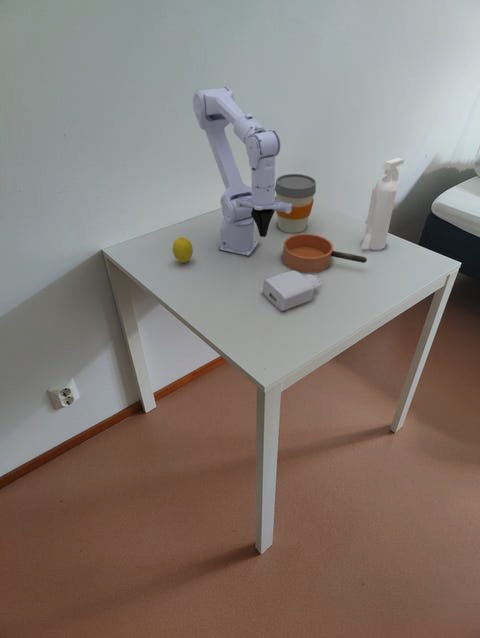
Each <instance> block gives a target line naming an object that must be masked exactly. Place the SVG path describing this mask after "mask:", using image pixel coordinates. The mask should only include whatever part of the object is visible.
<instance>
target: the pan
mask: <svg viewBox="0 0 480 638" xmlns="http://www.w3.org/2000/svg"><path fill="white" fill-rule="evenodd" d="M329 251H330V252H329ZM332 251H334V245H333V243H332V242H331V241H330V240H329V239H327V238H326V237H324V236H322V235H317V234H313V233H299V234H295V235H291V236H289V237H287V238H286V239H285V240H284V242H283V248H282V261H283V263H284V264H285V266H287V267H288V268H290V269H291V270H294V271H297V272H299V273H318V272H322V271H324V270H326V269H328V268H329V267H330V265H331V263H332V261H333V259H332V258H333V257H332V256H331V254H332ZM328 252H329V253H328Z"/></svg>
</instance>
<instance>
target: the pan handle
mask: <svg viewBox="0 0 480 638" xmlns="http://www.w3.org/2000/svg"><path fill="white" fill-rule="evenodd" d="M329 252H330V251H329ZM329 252H328V253H329ZM331 256H332V258H336V259H341V260H348V261H352V262H357V263H362V264H366V262H367V260H368V259H367V257H366V256H362V255H356V254H351V253H347V252H341V251H337V250H333V251H332V254H331Z"/></svg>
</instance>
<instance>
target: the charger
mask: <svg viewBox="0 0 480 638" xmlns="http://www.w3.org/2000/svg"><path fill="white" fill-rule="evenodd" d="M318 278H319V279H318ZM322 281H324V278H320V275H313V274H311V273H310V274H309V273H308V274H305V275H303V274H302V273H301V272H300V271H296V270H294V269H291V270H289V271H286V272H283V273H280V274H278V275H275V276H272V277H269V278H266V279H263V280H262V293H263V295H264V297H266V298H267V299H268V300H269V301H270V302H271V303H272V304H273V305H274V306H275V307H276V308H278V309H279V311H281V312H285V311H286V310H289V309H291V308H294V307H296V306H300V305H302V304H304V303H307V302H310V301H312V300H313V298H314V291H315V289H318V288H320V287H322V283H321V282H322Z"/></svg>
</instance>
